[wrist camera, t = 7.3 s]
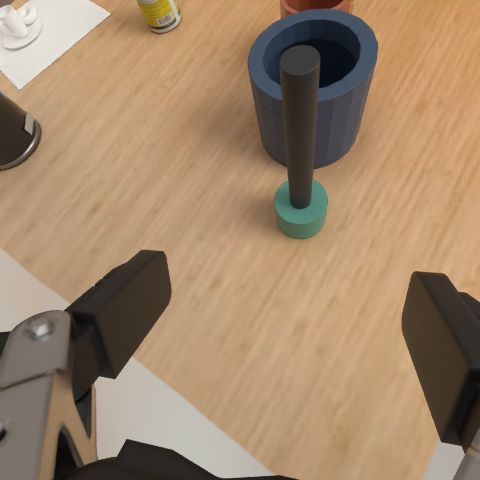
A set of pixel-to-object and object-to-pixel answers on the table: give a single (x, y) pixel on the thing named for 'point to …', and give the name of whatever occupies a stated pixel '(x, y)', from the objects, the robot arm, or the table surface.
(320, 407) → the table surface
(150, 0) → the supplement bottle
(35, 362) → the robot arm
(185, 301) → the table surface
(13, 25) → the teacup and saucer
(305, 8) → the crock
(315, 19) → the jar
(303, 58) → the sponge wand
